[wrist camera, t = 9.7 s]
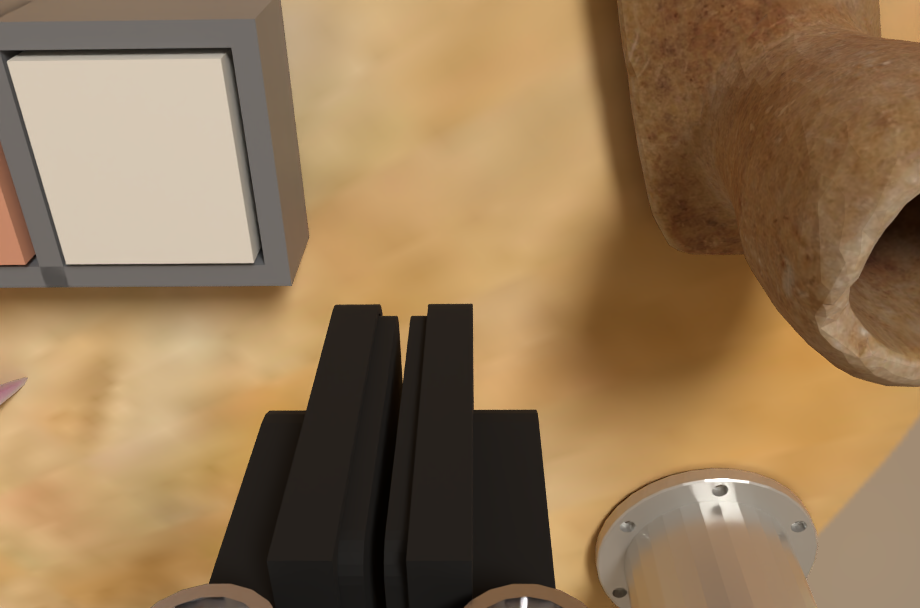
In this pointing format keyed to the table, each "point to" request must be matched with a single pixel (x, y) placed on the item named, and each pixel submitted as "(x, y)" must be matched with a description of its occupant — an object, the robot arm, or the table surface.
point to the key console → (263, 112)
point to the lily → (10, 388)
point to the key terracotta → (12, 222)
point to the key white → (141, 153)
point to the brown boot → (790, 161)
